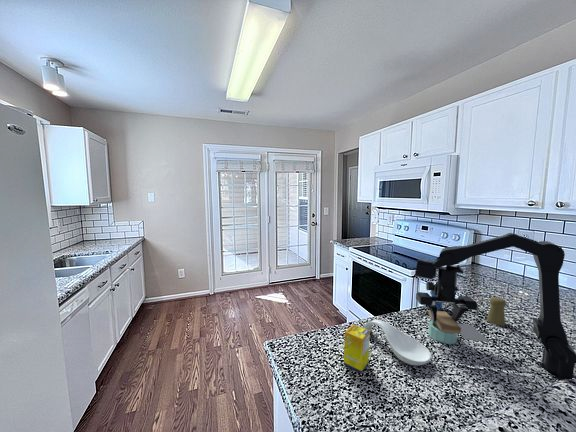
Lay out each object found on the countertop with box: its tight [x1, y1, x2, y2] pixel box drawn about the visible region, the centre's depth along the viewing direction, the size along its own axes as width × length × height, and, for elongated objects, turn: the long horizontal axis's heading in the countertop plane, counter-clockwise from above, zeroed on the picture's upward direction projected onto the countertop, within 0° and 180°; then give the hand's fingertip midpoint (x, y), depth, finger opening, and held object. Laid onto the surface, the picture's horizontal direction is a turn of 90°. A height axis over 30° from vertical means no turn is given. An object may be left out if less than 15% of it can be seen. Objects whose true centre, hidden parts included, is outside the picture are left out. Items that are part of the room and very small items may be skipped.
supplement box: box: [343, 324, 371, 374], centre depth 75 cm, size 6×6×11 cm
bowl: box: [427, 320, 459, 345], centre depth 91 cm, size 9×9×4 cm
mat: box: [456, 322, 490, 343], centre depth 95 cm, size 12×8×1 cm, turn 169°
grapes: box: [429, 290, 446, 311], centre depth 112 cm, size 12×7×12 cm, turn 126°
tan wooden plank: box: [428, 309, 461, 335], centre depth 90 cm, size 12×6×2 cm, turn 169°
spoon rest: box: [363, 319, 432, 366], centre depth 84 cm, size 24×12×7 cm, turn 33°
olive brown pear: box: [486, 296, 507, 327], centre depth 102 cm, size 6×6×11 cm
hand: (443, 322), depth 90 cm, fingers closed on tan wooden plank, 6 cm apart
